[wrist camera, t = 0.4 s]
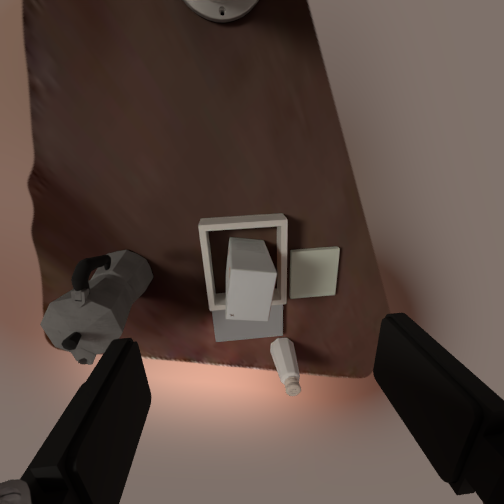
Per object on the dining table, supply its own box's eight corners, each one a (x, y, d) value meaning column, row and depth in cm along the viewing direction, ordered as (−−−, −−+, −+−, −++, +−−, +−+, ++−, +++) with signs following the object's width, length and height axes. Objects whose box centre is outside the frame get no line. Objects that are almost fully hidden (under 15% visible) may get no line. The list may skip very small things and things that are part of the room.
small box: (258, 278, 47) (268, 322, 35) (225, 276, 47) (224, 320, 35) (264, 239, 44) (278, 272, 32) (229, 235, 44) (229, 269, 32)
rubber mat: (290, 249, 46) (291, 252, 45) (337, 246, 46) (339, 248, 45) (289, 295, 50) (290, 298, 49) (333, 292, 50) (335, 294, 49)
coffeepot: (152, 306, 48) (112, 389, 31) (100, 300, 46) (28, 385, 30) (157, 230, 42) (111, 284, 26) (97, 221, 41) (8, 272, 24)
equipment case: (200, 218, 42) (198, 225, 38) (282, 213, 43) (287, 219, 39) (216, 338, 52) (215, 353, 48) (281, 332, 53) (285, 345, 49)
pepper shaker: (266, 342, 54) (274, 387, 44) (289, 333, 53) (303, 376, 43) (274, 358, 56) (284, 405, 46) (296, 350, 55) (312, 396, 45)
